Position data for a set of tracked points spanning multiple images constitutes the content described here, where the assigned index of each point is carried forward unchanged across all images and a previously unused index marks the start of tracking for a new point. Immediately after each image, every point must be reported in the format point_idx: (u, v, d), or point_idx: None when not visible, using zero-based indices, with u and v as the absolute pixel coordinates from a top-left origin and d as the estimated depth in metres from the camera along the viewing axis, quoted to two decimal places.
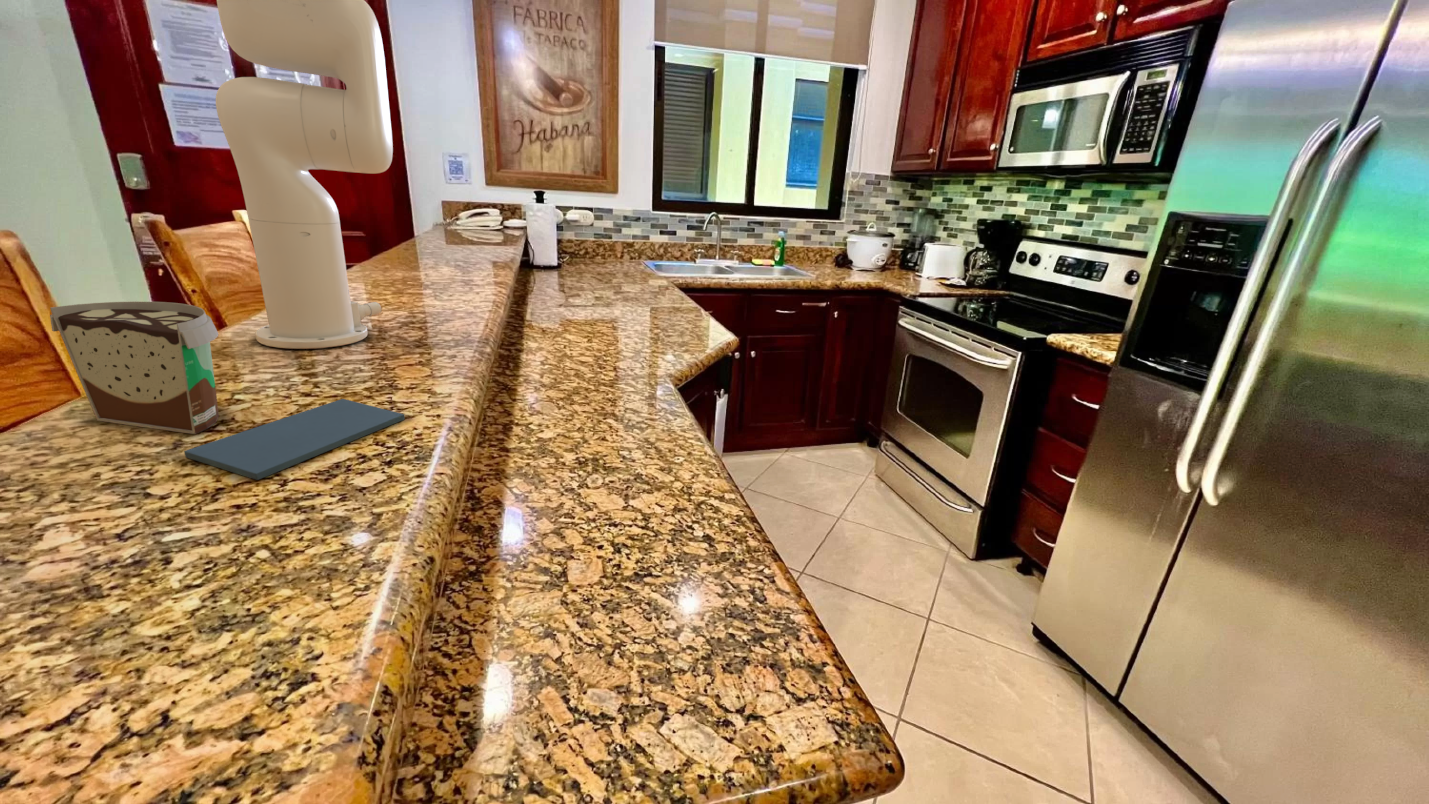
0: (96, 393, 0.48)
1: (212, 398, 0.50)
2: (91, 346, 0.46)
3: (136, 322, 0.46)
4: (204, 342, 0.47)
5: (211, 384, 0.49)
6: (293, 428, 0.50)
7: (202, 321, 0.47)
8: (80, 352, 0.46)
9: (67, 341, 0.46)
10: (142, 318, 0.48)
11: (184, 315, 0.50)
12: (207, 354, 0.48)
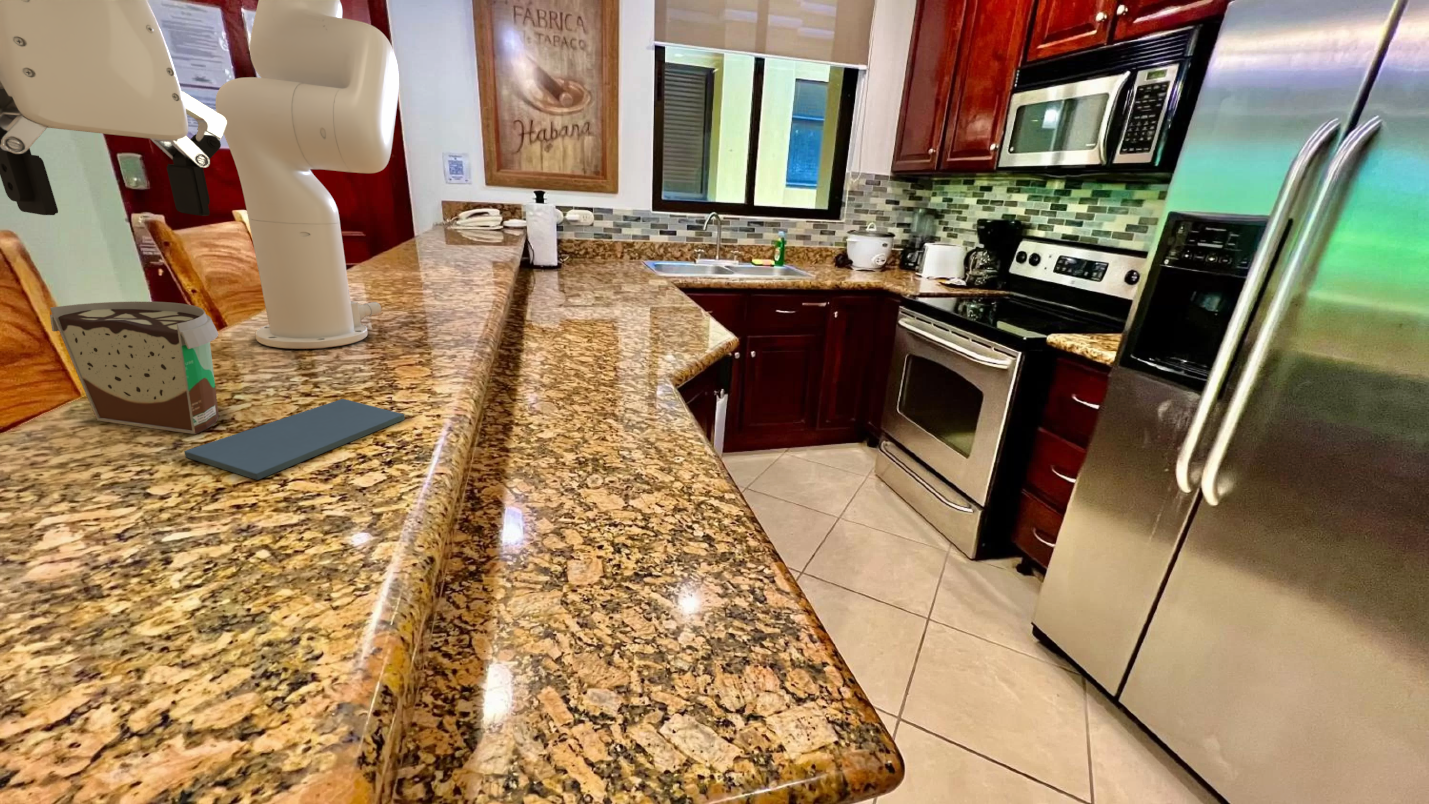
0: (96, 393, 0.48)
1: (212, 398, 0.50)
2: (91, 346, 0.46)
3: (136, 322, 0.46)
4: (204, 342, 0.47)
5: (211, 384, 0.49)
6: (293, 428, 0.50)
7: (202, 321, 0.47)
8: (80, 352, 0.46)
9: (67, 341, 0.46)
10: (142, 318, 0.48)
11: (184, 315, 0.50)
12: (207, 354, 0.48)
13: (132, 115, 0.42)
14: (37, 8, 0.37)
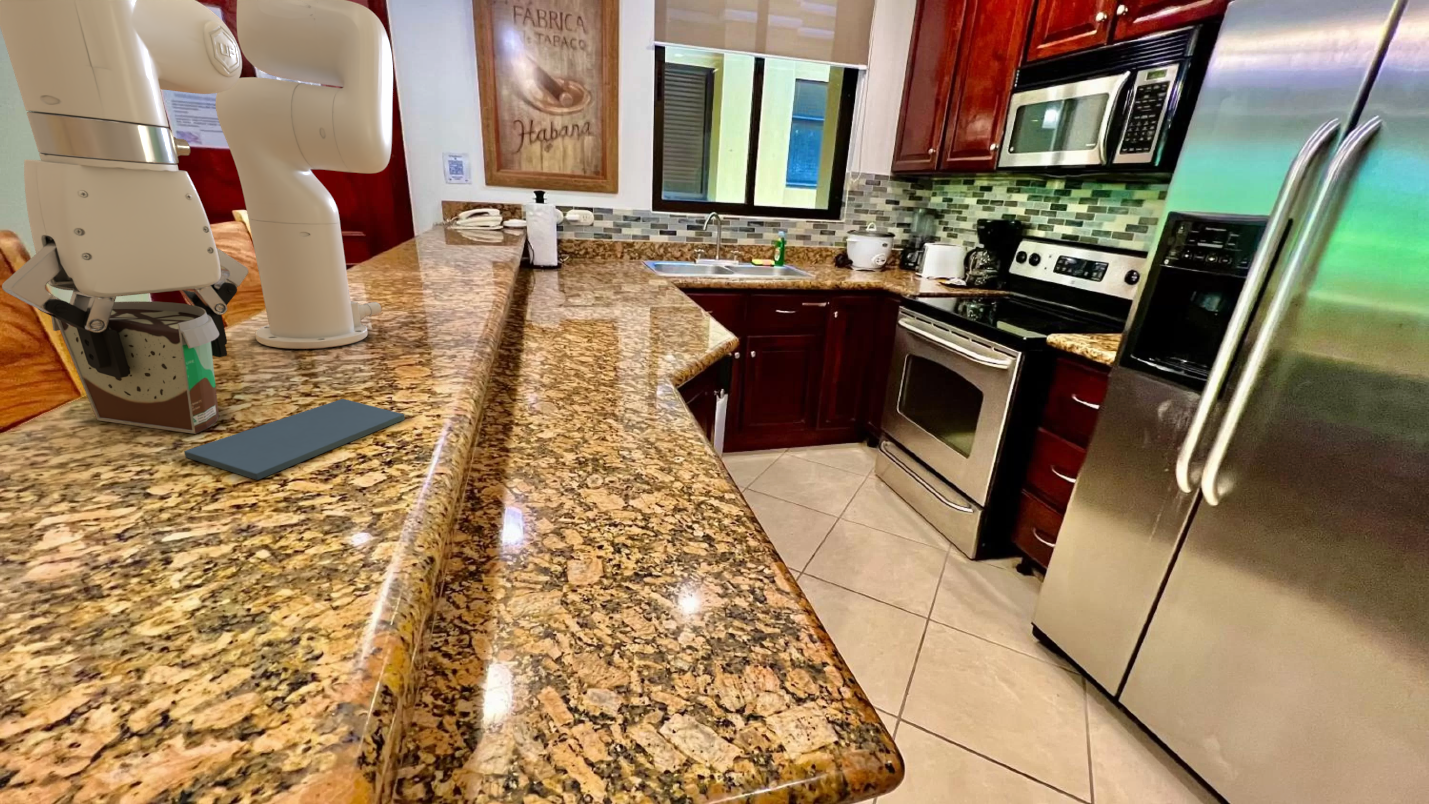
0: (96, 393, 0.48)
1: (212, 398, 0.50)
2: None
3: (137, 321, 0.46)
4: (205, 342, 0.47)
5: (211, 384, 0.49)
6: (293, 428, 0.50)
7: (203, 321, 0.47)
8: (81, 351, 0.47)
9: (68, 341, 0.46)
10: (143, 318, 0.48)
11: (185, 315, 0.50)
12: (208, 354, 0.48)
13: (173, 274, 0.47)
14: (94, 201, 0.41)
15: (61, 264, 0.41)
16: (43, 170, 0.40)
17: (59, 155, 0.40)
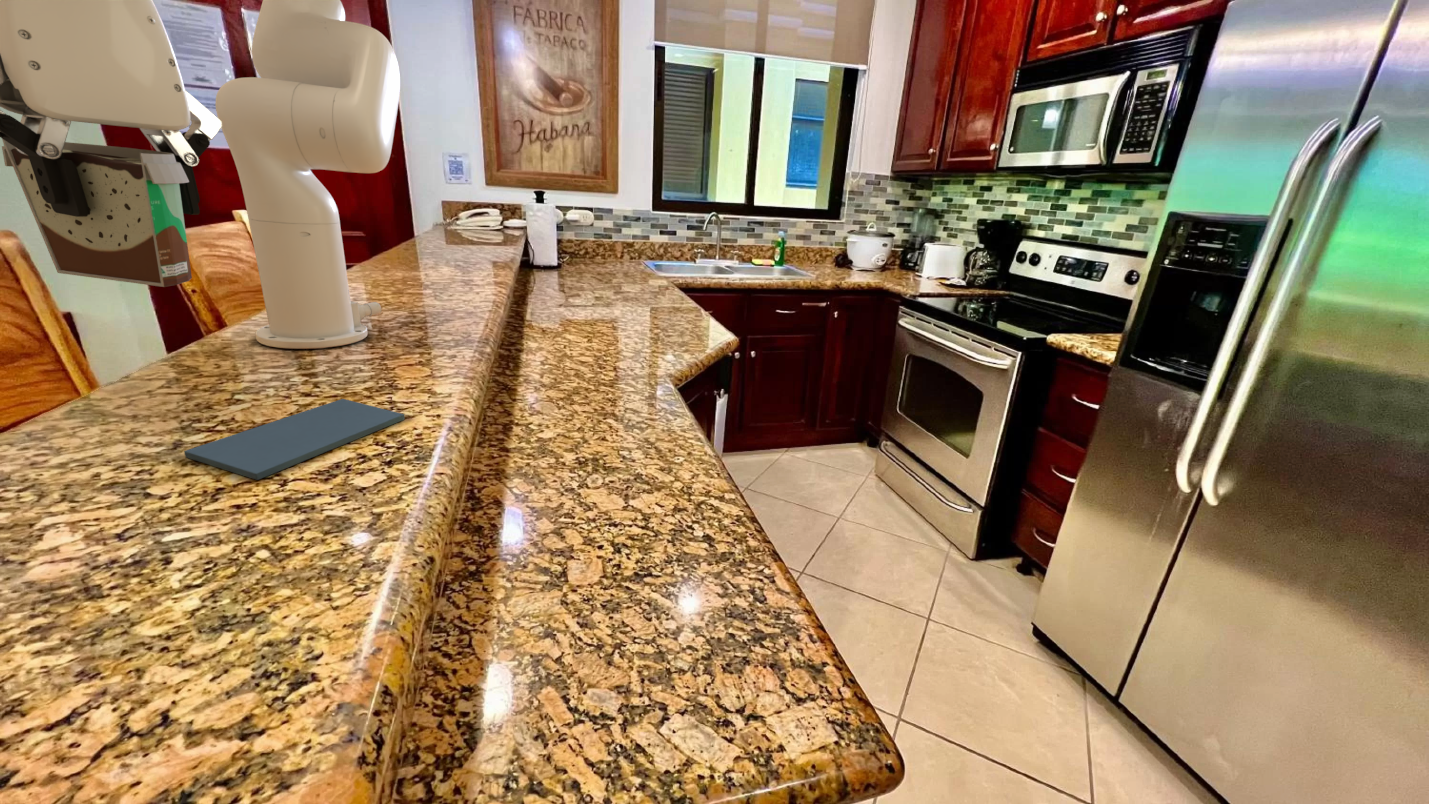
0: (55, 240, 0.44)
1: (183, 252, 0.46)
2: None
3: (96, 156, 0.42)
4: (172, 181, 0.43)
5: (182, 236, 0.45)
6: (293, 428, 0.50)
7: (170, 160, 0.43)
8: (37, 191, 0.43)
9: (22, 178, 0.42)
10: None
11: None
12: (176, 200, 0.44)
13: (135, 106, 0.43)
14: (41, 1, 0.37)
15: (6, 73, 0.37)
16: None
17: None
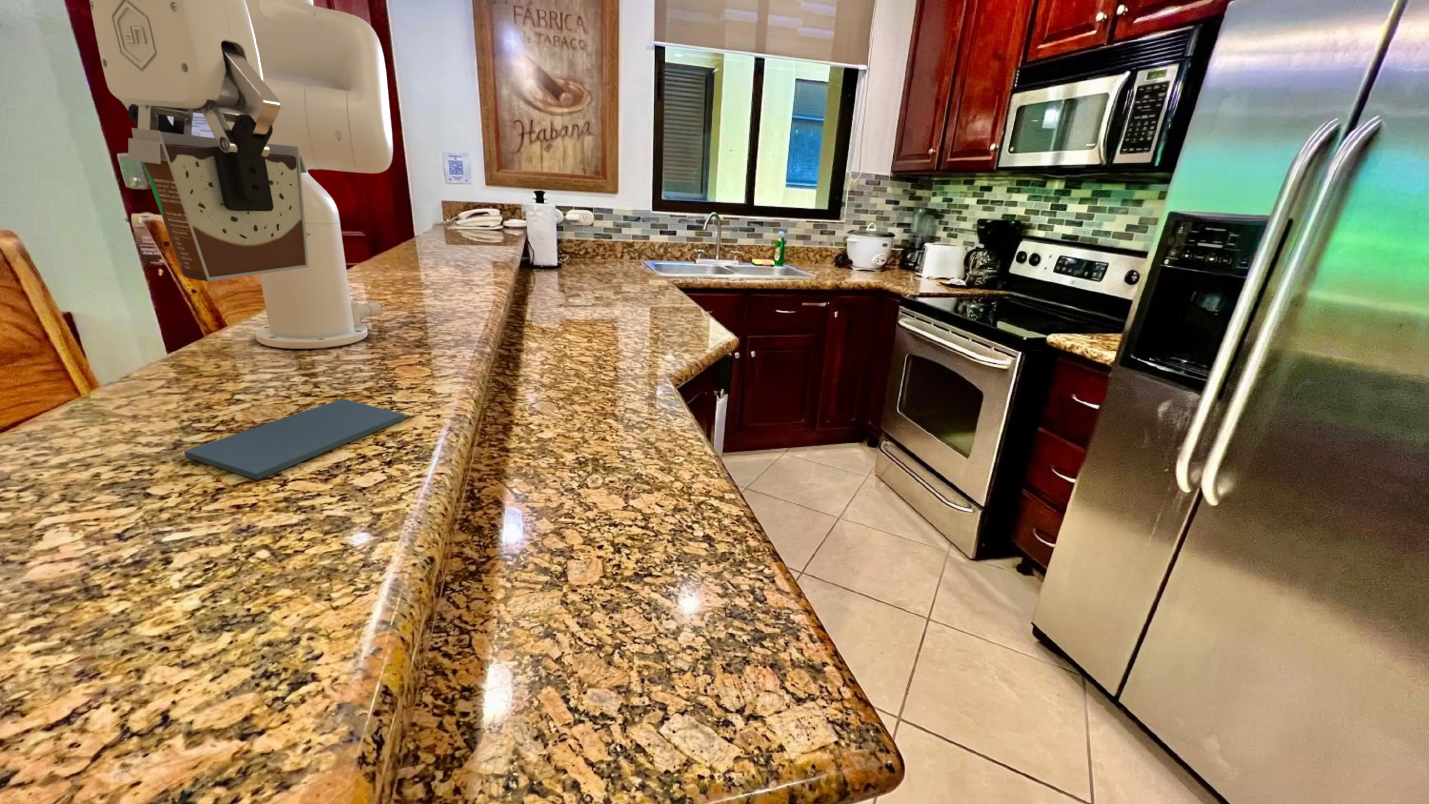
0: (207, 244, 0.40)
1: None
2: (205, 180, 0.40)
3: None
4: None
5: None
6: (293, 428, 0.50)
7: None
8: (192, 190, 0.39)
9: (174, 177, 0.38)
10: None
11: (190, 147, 0.43)
12: None
13: None
14: None
15: None
16: None
17: None
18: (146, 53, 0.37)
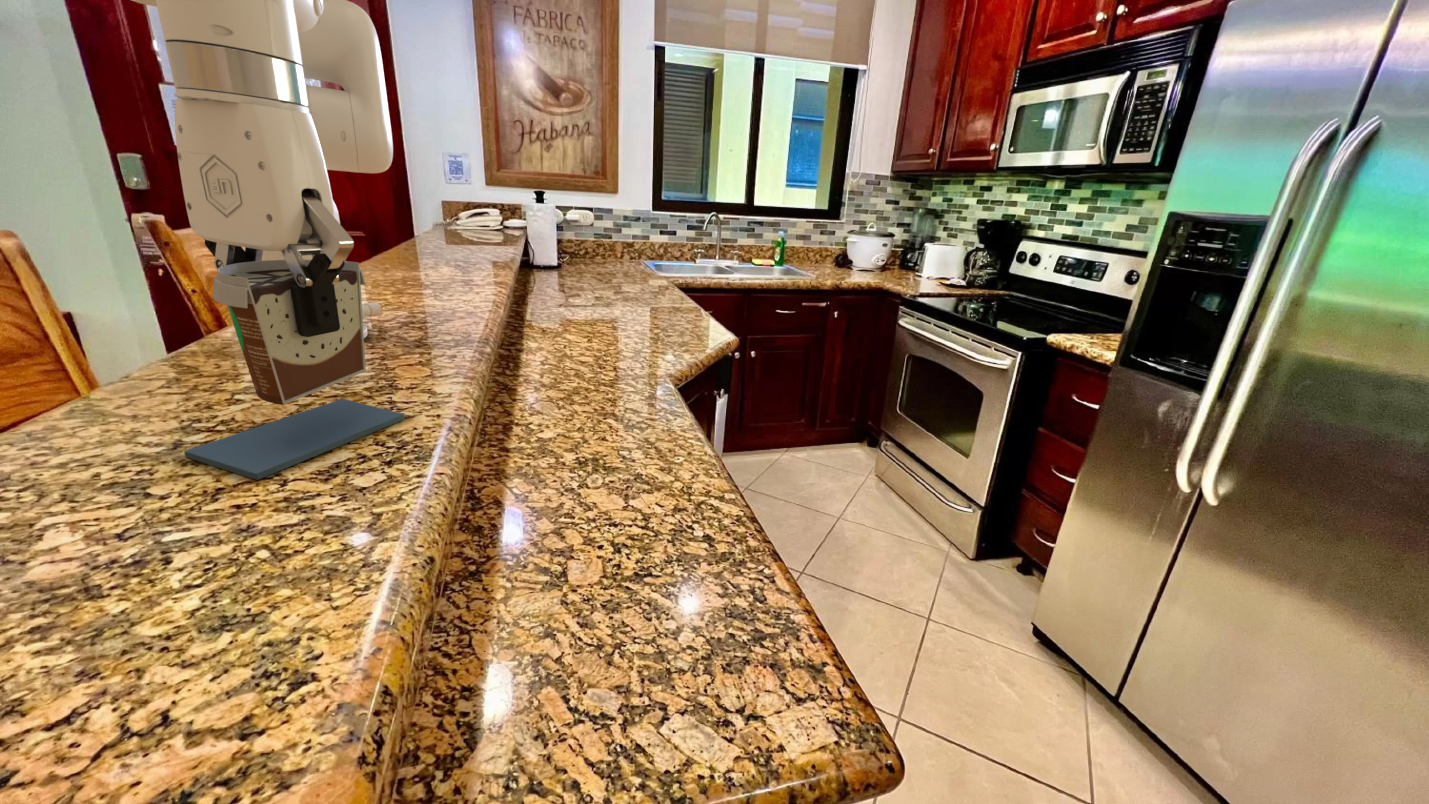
0: (283, 370, 0.43)
1: None
2: (283, 313, 0.42)
3: None
4: None
5: None
6: (293, 428, 0.50)
7: None
8: (272, 325, 0.41)
9: (257, 317, 0.40)
10: (274, 277, 0.44)
11: (262, 272, 0.45)
12: None
13: None
14: None
15: None
16: (302, 121, 0.40)
17: (297, 104, 0.40)
18: (232, 202, 0.40)
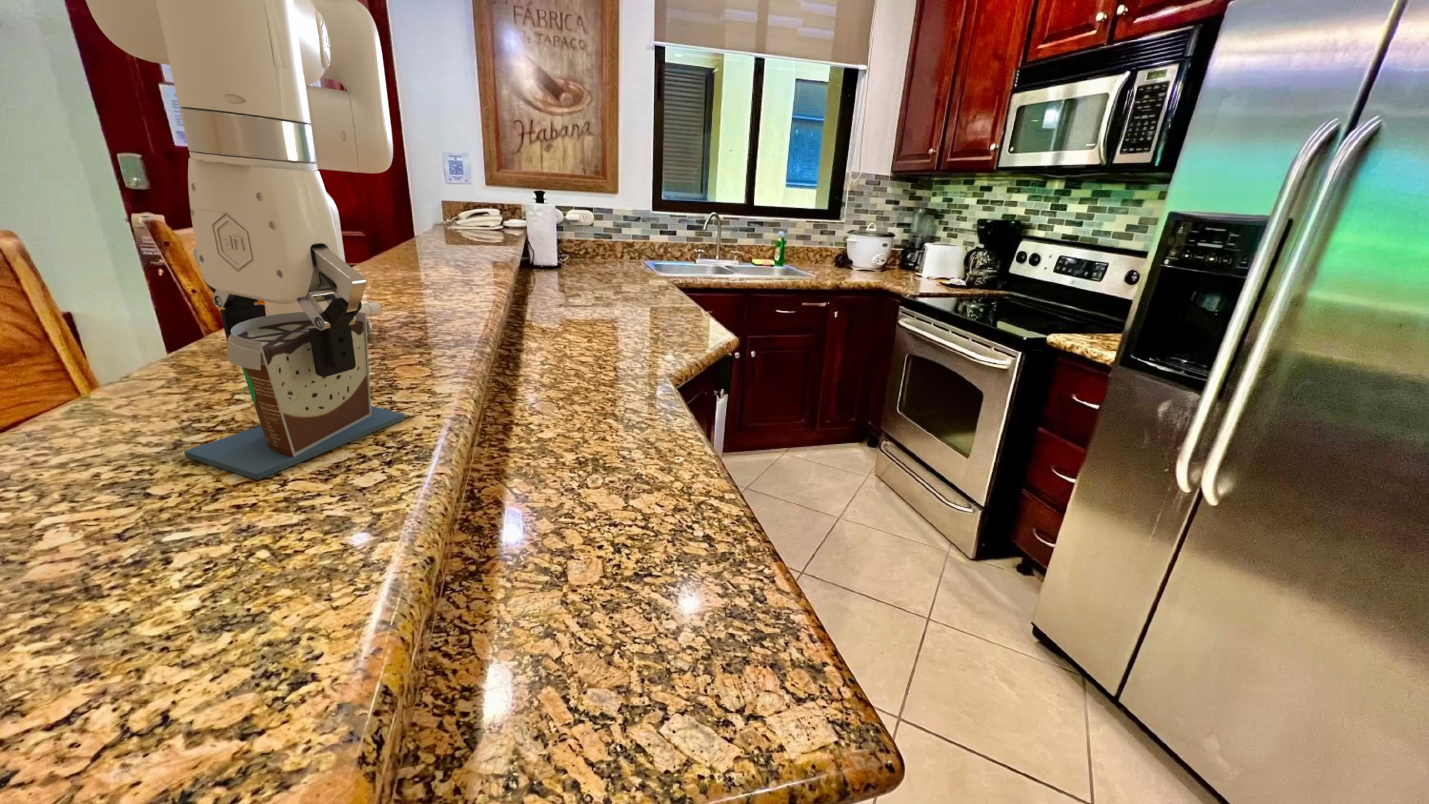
0: (293, 424, 0.45)
1: None
2: (293, 370, 0.44)
3: None
4: None
5: None
6: None
7: None
8: (283, 382, 0.43)
9: (270, 376, 0.42)
10: (285, 333, 0.46)
11: (273, 327, 0.47)
12: None
13: None
14: None
15: None
16: (311, 179, 0.41)
17: (306, 162, 0.42)
18: (243, 257, 0.41)
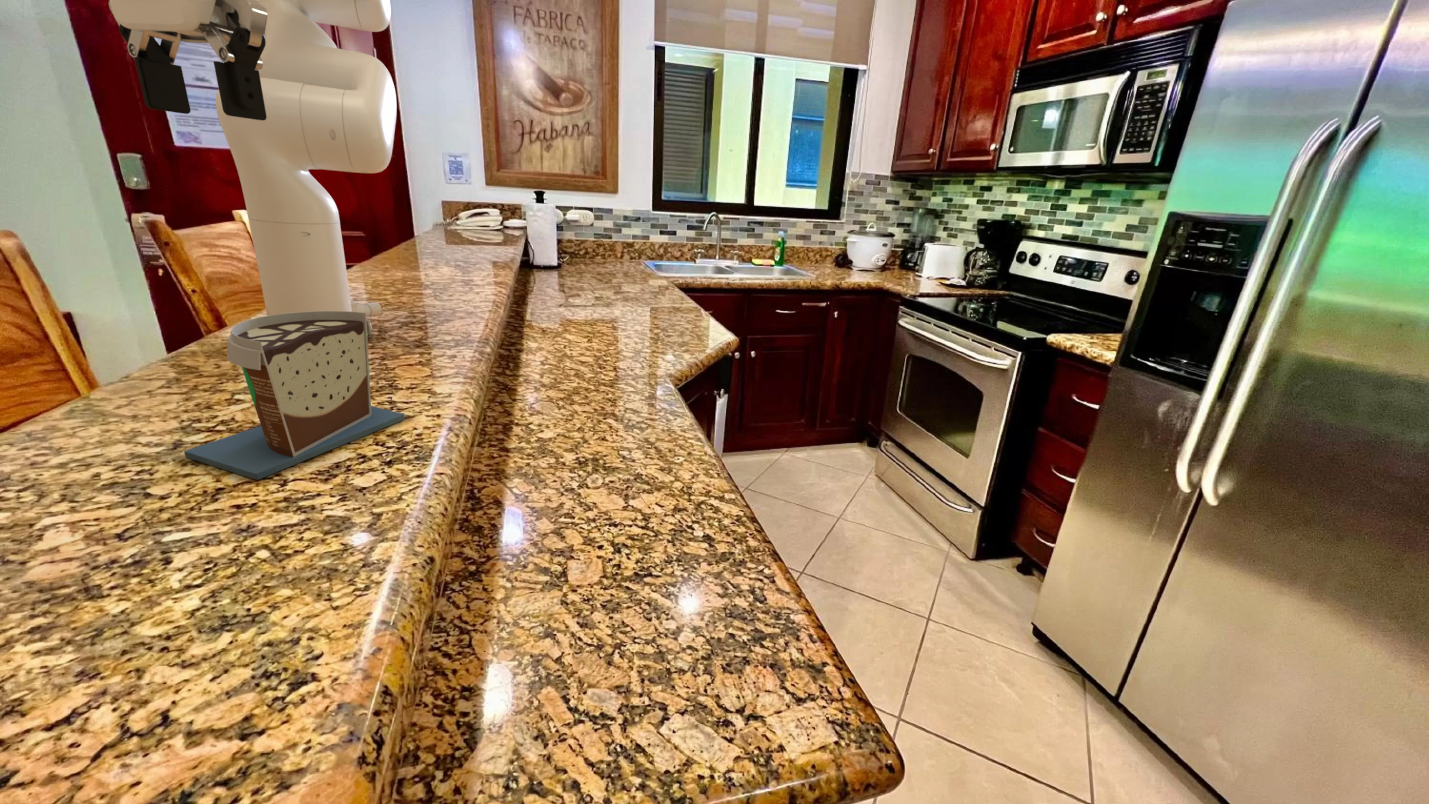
0: (293, 424, 0.45)
1: None
2: (293, 370, 0.44)
3: (319, 329, 0.47)
4: None
5: None
6: None
7: (333, 315, 0.51)
8: (283, 382, 0.43)
9: (270, 376, 0.42)
10: (285, 333, 0.46)
11: (273, 327, 0.47)
12: None
13: None
14: None
15: None
16: None
17: None
18: None
